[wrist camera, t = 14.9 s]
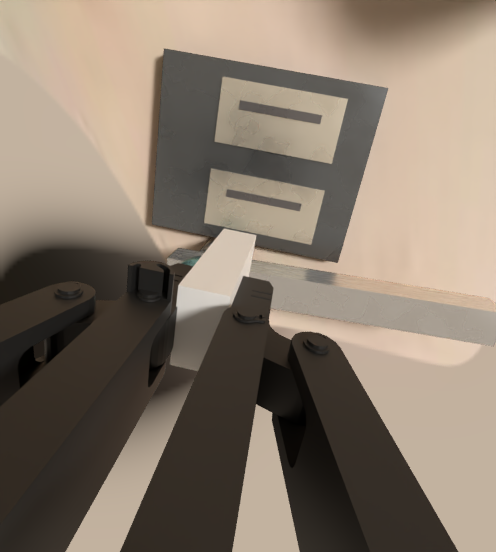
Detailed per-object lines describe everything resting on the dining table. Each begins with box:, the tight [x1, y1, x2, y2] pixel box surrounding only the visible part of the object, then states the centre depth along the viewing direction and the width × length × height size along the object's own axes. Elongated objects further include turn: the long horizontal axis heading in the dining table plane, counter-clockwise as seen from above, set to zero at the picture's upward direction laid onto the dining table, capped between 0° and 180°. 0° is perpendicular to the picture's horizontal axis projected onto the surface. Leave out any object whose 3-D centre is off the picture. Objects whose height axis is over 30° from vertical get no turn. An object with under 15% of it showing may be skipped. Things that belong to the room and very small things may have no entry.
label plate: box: [152, 49, 388, 263], centre depth 28 cm, size 16×13×2 cm
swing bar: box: [167, 248, 496, 346], centre depth 25 cm, size 23×4×3 cm, turn 83°
